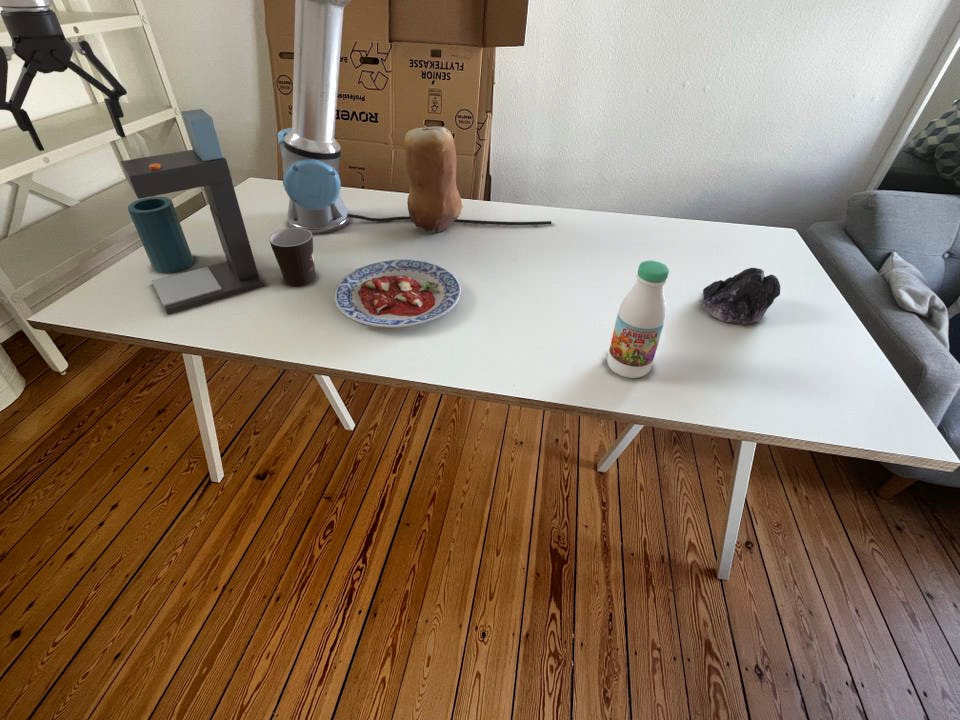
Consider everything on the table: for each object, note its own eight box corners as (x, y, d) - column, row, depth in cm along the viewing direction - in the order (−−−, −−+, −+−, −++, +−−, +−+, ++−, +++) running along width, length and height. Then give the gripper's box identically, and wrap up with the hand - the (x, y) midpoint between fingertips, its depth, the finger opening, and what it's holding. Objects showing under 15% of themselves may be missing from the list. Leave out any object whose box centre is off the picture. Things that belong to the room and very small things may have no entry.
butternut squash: (422, 215, 140) (417, 116, 124) (469, 223, 137) (470, 123, 121) (399, 236, 130) (391, 132, 114) (449, 246, 127) (447, 139, 111)
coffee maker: (153, 285, 110) (81, 119, 89) (244, 261, 119) (198, 105, 98) (167, 314, 102) (91, 139, 81) (264, 285, 111) (218, 121, 90)
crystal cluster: (686, 311, 108) (702, 272, 101) (713, 282, 115) (729, 244, 108) (749, 341, 102) (771, 302, 95) (773, 308, 110) (795, 270, 102)
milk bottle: (601, 352, 96) (622, 255, 83) (642, 351, 96) (669, 254, 84) (613, 380, 90) (638, 279, 77) (656, 378, 90) (688, 278, 78)
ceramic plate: (331, 340, 97) (329, 327, 95) (338, 271, 116) (336, 259, 114) (468, 330, 100) (469, 317, 98) (453, 264, 120) (453, 253, 118)
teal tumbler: (198, 254, 121) (177, 196, 112) (186, 272, 114) (163, 212, 105) (161, 255, 120) (136, 197, 111) (147, 273, 113) (120, 213, 105)
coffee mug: (309, 291, 109) (300, 248, 103) (272, 286, 111) (260, 243, 104) (332, 265, 118) (325, 224, 112) (297, 260, 119) (288, 220, 113)
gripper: (103, 3, 95) (145, 126, 108) (-77, 8, 81) (-3, 149, 94) (117, 8, 91) (158, 135, 104) (-69, 14, 77) (7, 160, 90)
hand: (82, 142), depth 99 cm, fingers open, 13 cm apart
